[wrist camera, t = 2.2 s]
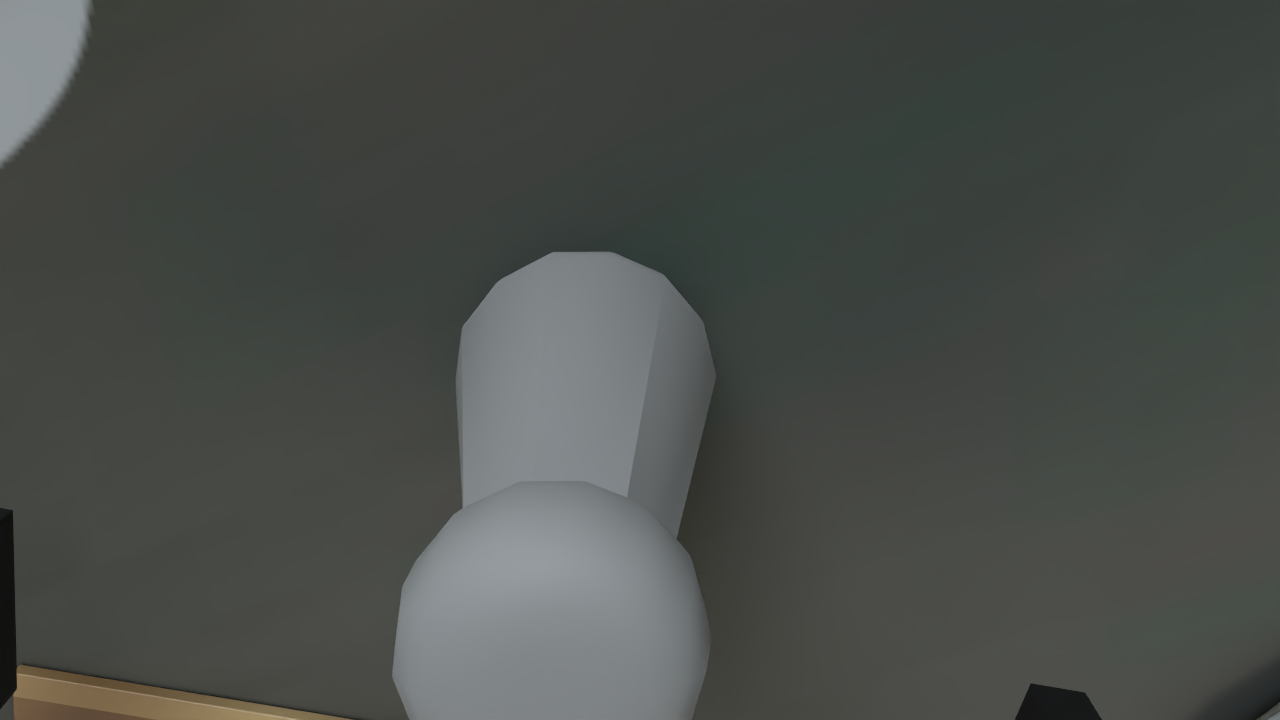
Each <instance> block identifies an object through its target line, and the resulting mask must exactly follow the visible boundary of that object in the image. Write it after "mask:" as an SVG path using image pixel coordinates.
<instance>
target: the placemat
mask: <svg viewBox="0 0 1280 720" xmlns="http://www.w3.org/2000/svg"><path fill="white" fill-rule="evenodd" d="M13 708H14V720H354V719H348V718H342V717H336V716H330V715H323V714H317V713H311V712H305V711H299V710H293V709H287V708H281V707H275V706H269V705H263V704H257V703H251V702H245V701H239V700H232V699H226V698H220V697H214V696H208V695H202V694H196V693H190V692H184V691H178V690H172V689H166V688H160V687H154V686H148V685H142V684H135V683H129V682H123V681H117V680H111V679H105V678H99V677H93V676H87V675H81V674H75V673H69V672H63V671H57V670H51V669H45V668H38V667H32V666H26V665H19V667H18V668H17V690H16V691H15V692H14V693H13Z"/></svg>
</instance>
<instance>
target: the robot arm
mask: <svg viewBox="0 0 1280 720" xmlns="http://www.w3.org/2000/svg"><path fill="white" fill-rule="evenodd" d="M16 690H17V665H16V624H15V583H14V542H13V510H8V509H2V508H0V709H1V708H2V706H3V705H4V704H5V703H6V702H7V700H8V699H9V698H10V697H11V696H12V695H13V693H14V692H15V691H16ZM1015 720H1102V719H1101V718H1100V716H1099V714H1098V713H1097V711H1096V710H1095V708H1094V706H1093V705H1092V703H1091V702H1090V700H1089V698H1088V697H1087V695H1086V693H1084V692H1078V691H1072V690H1066V689H1060V688H1054V687H1048V686H1042V685H1037V684H1030V687H1029V689H1028V691H1027V693H1026V696H1025V698H1024V700H1023V703H1022V705H1021V707H1020V709H1019V712H1018V714H1017V716H1016V719H1015Z"/></svg>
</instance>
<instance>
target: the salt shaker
mask: <svg viewBox="0 0 1280 720" xmlns="http://www.w3.org/2000/svg"><path fill="white" fill-rule="evenodd" d="M715 380H716V373H715V368H714V364H713V360H712V356H711V352H710V348H709V344H708V340H707V336H706V331H705V327H704V323H703V322H702V320H701V318H700V317H699V315H698V314H697V313H696V312H695V311H694V310H693V308H692V307H691V306H690V305H689V304H688V303H687V301H686V300H685V299H684V298H683V297H682V295H681V294H680V293H679V292H678V291H677V290H676V288H675V287H674V286H673V285H672V284H671V283H670V281H669V280H668V279H667V278H666V277H665V275H664V274H662V273H659V272H657V271H655V270H652V269H650V268H648V267H645V266H643V265H641V264H639V263H636V262H634V261H632V260H629V259H627V258H625V257H622V256H620V255H618V254H615V253H613V252H552V253H550V254H548V255H546V256H544V257H542V258H540V259H538V260H537V261H535V262H533V263H531V264H529V265H527V266H525V267H523V268H521V269H519V270H517V271H515V272H513V273H512V274H510V275H508V276H506V277H504V278H502V279H501V280H500V281H498V282H497V283H496V284H495V286H494V287H493V288H492V289H491V291H490V292H489V293H488V295H487V296H486V297H485V298H484V300H483V301H482V302H481V304H480V305H479V306H478V307H477V309H476V310H475V311H474V313H473V314H472V315H471V316H470V318H469V319H468V320H467V322H466V323H465V324H464V325H463V327H462V332H461V340H460V348H459V356H458V364H457V372H456V380H455V383H456V400H457V417H458V435H459V452H460V470H461V487H462V504H463V509H461V510H460V511H458V512H457V513H455V514H454V515H453V516H452V517H451V519H450V520H449V521H448V522H447V523H446V525H445V526H444V527H443V528H442V529H441V531H440V532H439V533H438V534H437V536H436V537H435V538H434V539H433V540H432V542H431V543H430V544H429V545H428V547H427V548H426V549H425V550H424V551H423V553H422V554H421V555H420V556H419V557H418V559H417V560H416V561H415V563H414V565H413V567H412V569H411V571H410V573H409V575H408V577H407V579H406V581H405V583H404V585H403V586H402V593H401V601H400V609H399V617H398V625H397V633H396V641H395V650H394V661H393V672H392V678H393V680H394V683H395V685H396V688H397V690H398V692H399V695H400V697H401V700H402V702H403V705H404V707H405V710H406V712H407V715H408V717H409V720H692V717H693V714H694V711H695V707H696V704H697V701H698V697H699V694H700V691H701V687H702V684H703V681H704V677H705V674H706V670H707V664H708V658H709V652H710V647H711V641H712V640H711V634H710V629H709V623H708V617H707V612H706V608H705V605H704V601H703V598H702V594H701V591H700V587H699V583H698V580H697V576H696V573H695V569H694V566H693V562H692V559H691V556H690V555H689V554H688V552H687V551H686V550H685V548H684V547H683V546H682V545H681V544H680V543H679V542H678V541H677V540H676V539H677V535H678V531H679V527H680V522H681V518H682V514H683V510H684V506H685V502H686V498H687V494H688V490H689V486H690V482H691V478H692V474H693V470H694V466H695V461H696V457H697V453H698V449H699V445H700V441H701V437H702V433H703V429H704V425H705V421H706V417H707V413H708V409H709V405H710V400H711V396H712V392H713V388H714V384H715Z"/></svg>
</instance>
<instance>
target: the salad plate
mask: <svg viewBox="0 0 1280 720" xmlns="http://www.w3.org/2000/svg"><path fill="white" fill-rule="evenodd" d="M1256 720H1280V702H1279V703H1278V704H1277V705H1275V706H1274V707H1273V708H1271V709H1270V710H1269V711H1267V712H1266V713H1265V714H1263V715H1262V716H1260V717H1259V718H1258V719H1256Z"/></svg>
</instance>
